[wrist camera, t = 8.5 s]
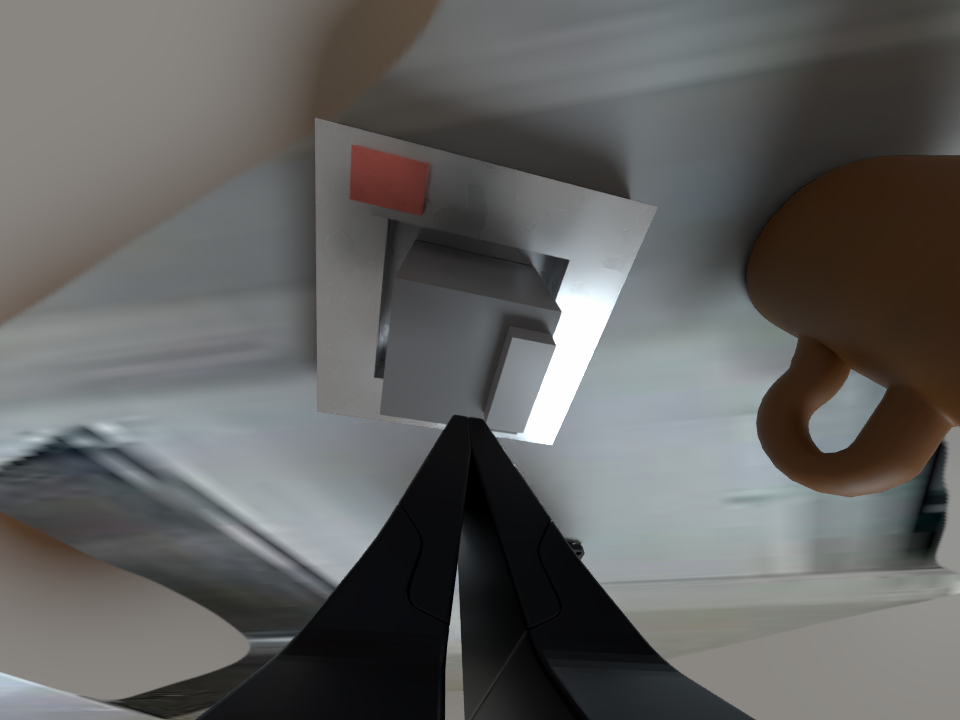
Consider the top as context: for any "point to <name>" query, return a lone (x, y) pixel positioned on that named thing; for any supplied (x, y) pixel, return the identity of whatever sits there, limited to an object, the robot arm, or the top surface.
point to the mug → (864, 316)
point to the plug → (467, 339)
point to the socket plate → (462, 226)
